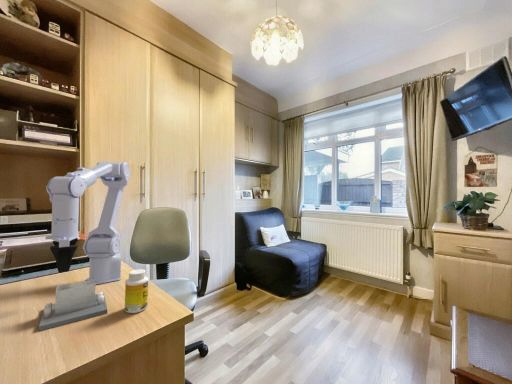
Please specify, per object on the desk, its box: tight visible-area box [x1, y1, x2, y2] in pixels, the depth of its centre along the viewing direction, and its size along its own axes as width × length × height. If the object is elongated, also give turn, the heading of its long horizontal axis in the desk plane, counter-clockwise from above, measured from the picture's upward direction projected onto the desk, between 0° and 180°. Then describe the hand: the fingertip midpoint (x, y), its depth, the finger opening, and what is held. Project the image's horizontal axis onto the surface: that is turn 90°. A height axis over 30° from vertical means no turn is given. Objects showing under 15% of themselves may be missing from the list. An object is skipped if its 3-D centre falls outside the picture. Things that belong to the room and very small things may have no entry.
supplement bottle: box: [124, 268, 149, 314], centre depth 61 cm, size 6×6×10 cm
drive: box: [54, 279, 96, 315], centre depth 59 cm, size 8×4×6 cm, turn 129°
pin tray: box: [38, 291, 108, 332], centre depth 59 cm, size 13×12×3 cm
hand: (64, 267), depth 63 cm, fingers open, 7 cm apart
